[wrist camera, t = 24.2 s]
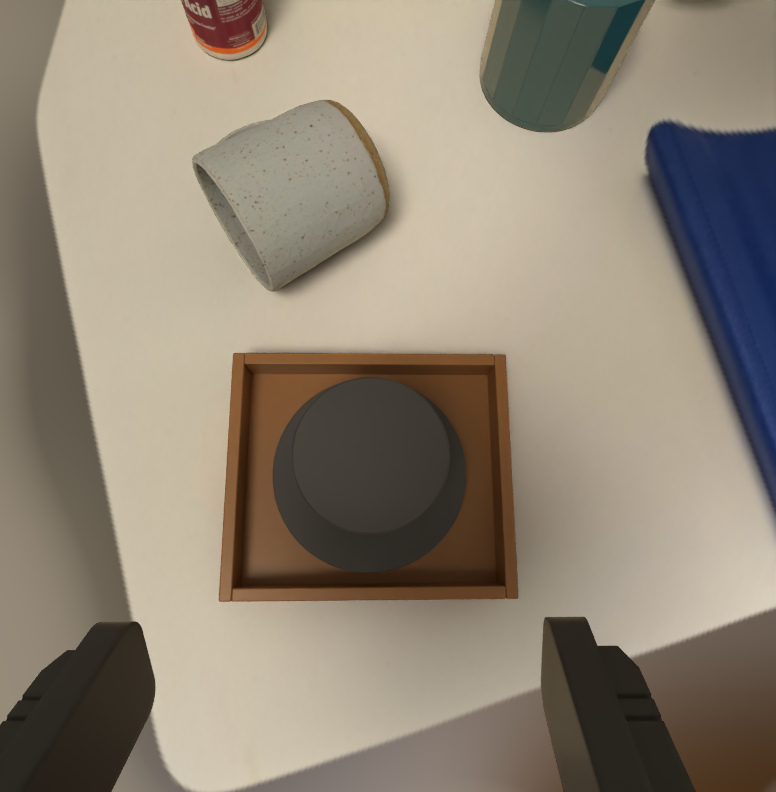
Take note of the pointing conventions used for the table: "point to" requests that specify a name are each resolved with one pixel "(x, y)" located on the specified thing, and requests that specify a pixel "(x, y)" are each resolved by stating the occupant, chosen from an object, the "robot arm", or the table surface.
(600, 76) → the cup
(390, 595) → the tray
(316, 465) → the flanged dark cylinder
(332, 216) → the ceramic mug
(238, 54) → the pill bottle
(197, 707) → the table surface
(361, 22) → the table surface
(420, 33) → the table surface
